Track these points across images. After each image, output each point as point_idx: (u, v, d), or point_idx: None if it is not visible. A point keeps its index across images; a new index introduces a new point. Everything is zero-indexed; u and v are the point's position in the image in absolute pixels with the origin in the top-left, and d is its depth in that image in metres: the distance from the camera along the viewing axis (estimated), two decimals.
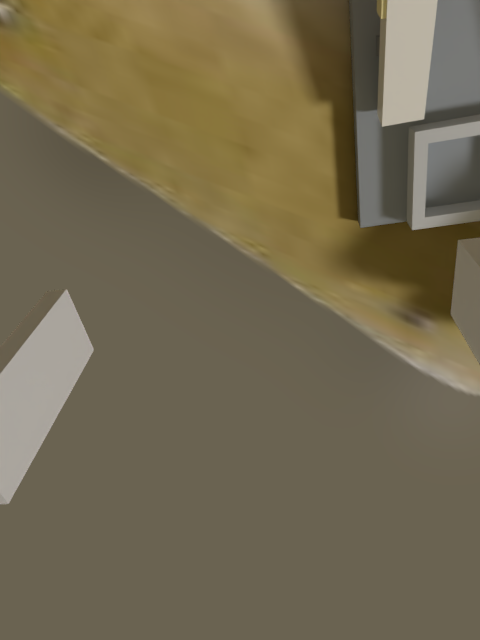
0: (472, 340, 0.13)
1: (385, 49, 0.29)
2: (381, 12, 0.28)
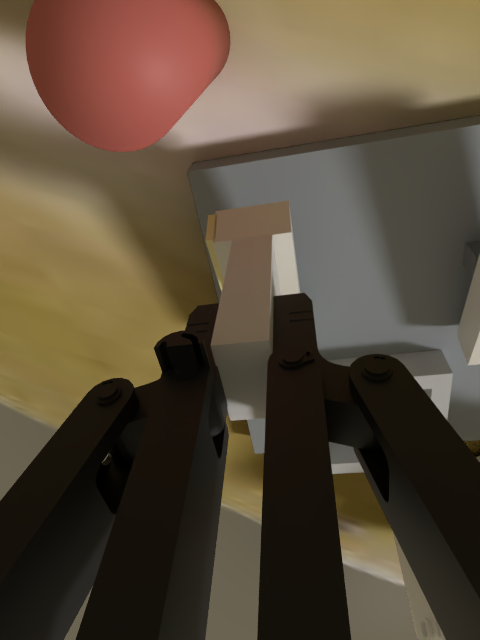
0: None
1: None
2: (221, 286, 0.19)
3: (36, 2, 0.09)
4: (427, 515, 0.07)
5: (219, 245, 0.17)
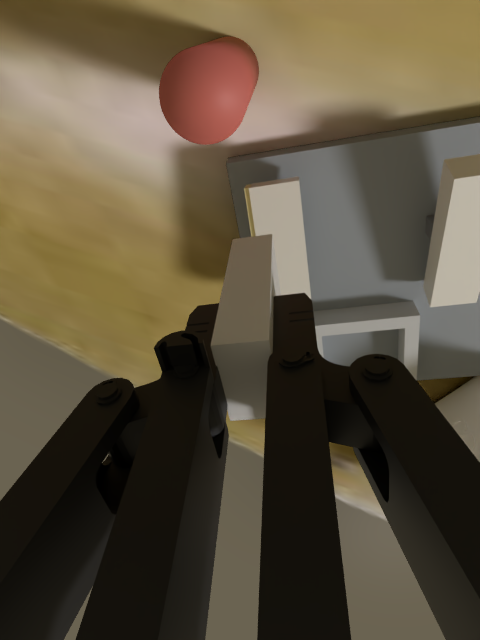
0: None
1: None
2: (251, 231, 0.28)
3: (168, 63, 0.18)
4: (427, 515, 0.07)
5: (252, 190, 0.27)
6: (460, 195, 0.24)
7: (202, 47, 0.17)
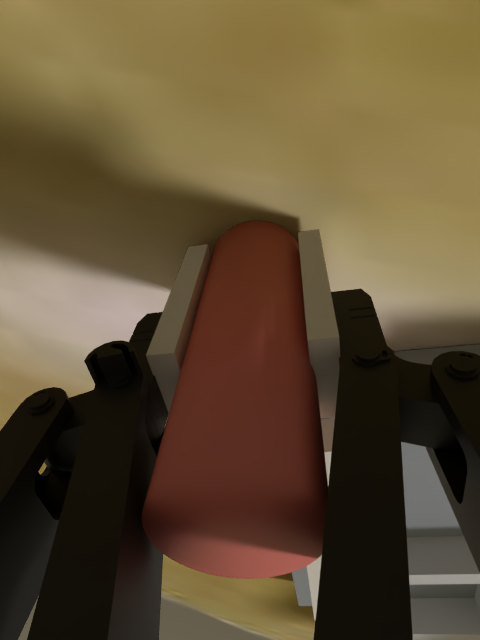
0: None
1: None
2: None
3: (160, 480, 0.08)
4: None
5: None
6: None
7: (239, 471, 0.07)
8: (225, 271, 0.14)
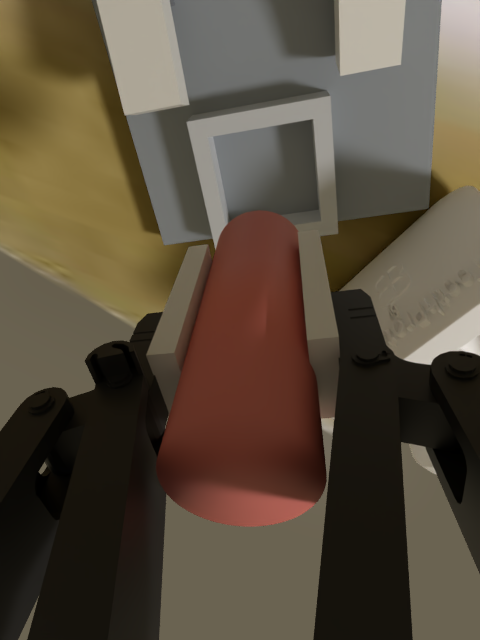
0: None
1: None
2: None
3: (173, 430, 0.09)
4: None
5: None
6: None
7: (243, 419, 0.08)
8: (230, 255, 0.15)
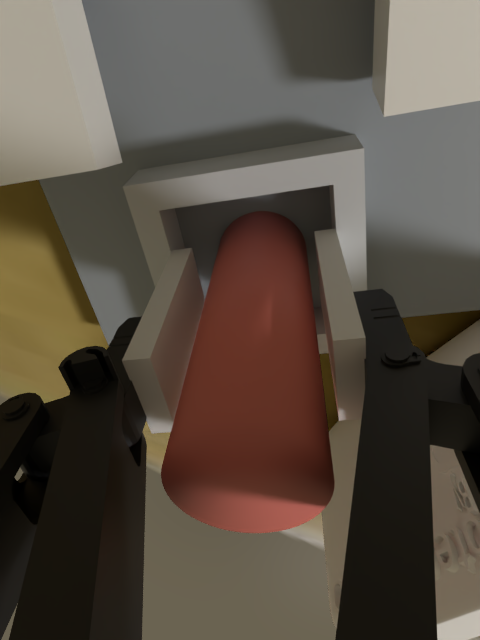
0: (323, 316, 0.15)
1: None
2: None
3: (179, 437, 0.09)
4: None
5: None
6: None
7: (250, 426, 0.08)
8: (233, 256, 0.15)
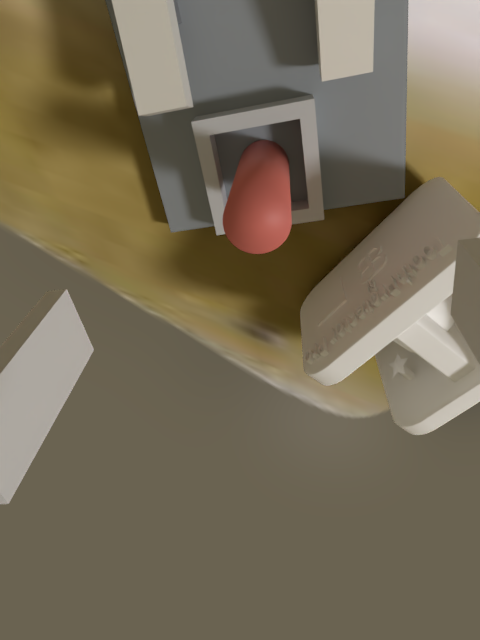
0: (472, 340, 0.13)
1: (115, 13, 0.25)
2: None
3: (230, 198, 0.23)
4: None
5: None
6: None
7: (258, 188, 0.22)
8: (249, 155, 0.28)
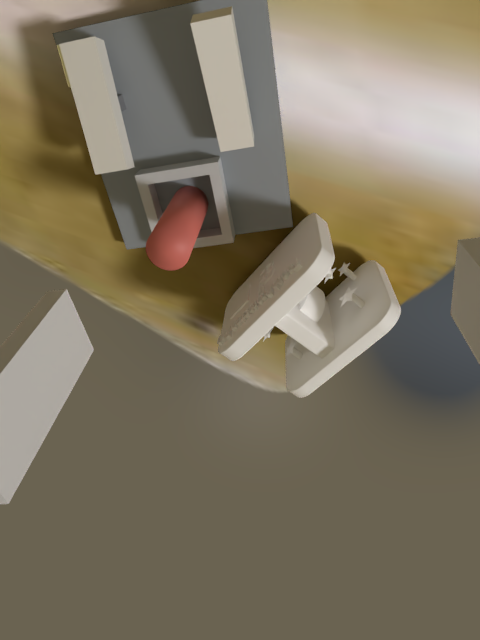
0: (472, 340, 0.13)
1: (77, 109, 0.37)
2: (67, 82, 0.37)
3: (150, 235, 0.35)
4: None
5: (62, 46, 0.35)
6: (200, 38, 0.33)
7: (166, 229, 0.35)
8: (173, 200, 0.41)
